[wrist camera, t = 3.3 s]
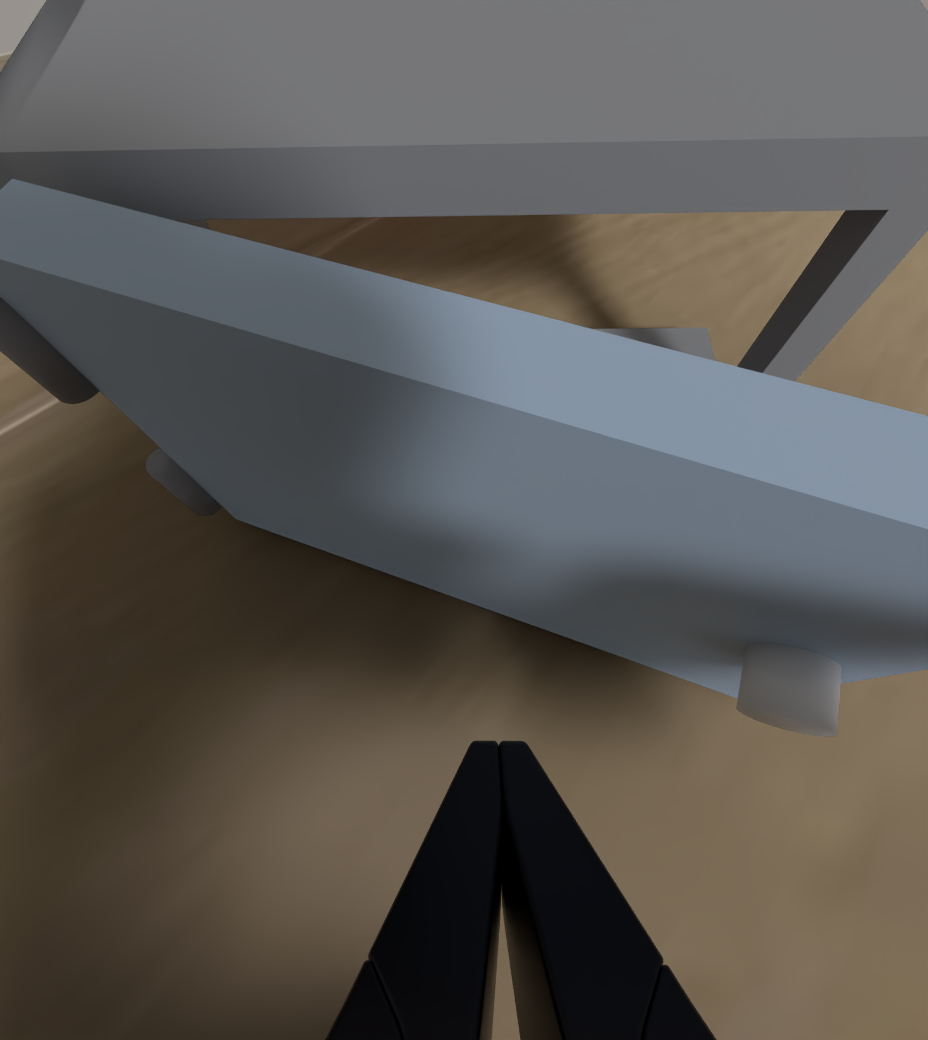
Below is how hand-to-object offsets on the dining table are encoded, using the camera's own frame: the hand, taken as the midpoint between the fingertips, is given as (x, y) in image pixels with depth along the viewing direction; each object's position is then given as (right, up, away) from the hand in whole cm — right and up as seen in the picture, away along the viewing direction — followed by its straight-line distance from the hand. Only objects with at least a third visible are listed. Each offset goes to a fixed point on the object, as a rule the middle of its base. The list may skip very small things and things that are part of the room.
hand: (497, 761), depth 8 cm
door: (-1, +2, +7) cm, 8 cm away
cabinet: (0, +8, +11) cm, 13 cm away
